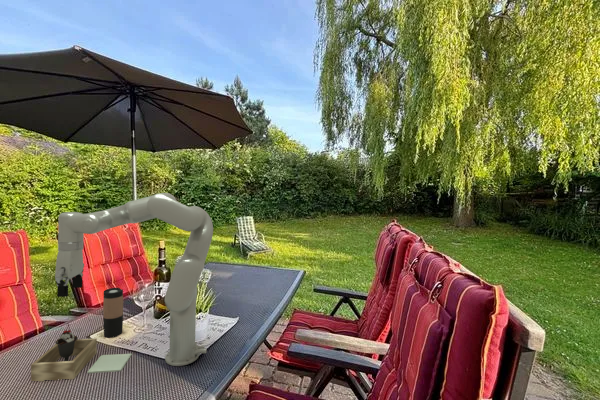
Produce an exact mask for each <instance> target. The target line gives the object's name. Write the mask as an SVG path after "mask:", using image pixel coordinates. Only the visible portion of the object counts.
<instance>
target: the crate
mask: <svg viewBox="0 0 600 400" xmlns="http://www.w3.org/2000/svg"><path fill="white" fill-rule="evenodd" d="M97 345H98V344H97V338H96V337H95V338H80V339H79V338H77V340H76V341H75V344H74V350H73V353H72V355H71V356H75V357H74V358H73V359H72V360H69V361H65V360H62V361H59V359H60V358H62V357H61V356H60V354H59V349H58V344H56V343H55V344H54V345H53V346H52V347H50V348H49V349H48V350H47V351H45V352H44V353H43V354H42V355H41V356H40V357H39V358H37V359H36V360H35V361H34V362H32V363H31V364H30V376H31V377H30V382H31V381H39V382H45V381H44V380H54V381H62V380H61V379H69V380H75V379H76V377H77V376H78V375H79V374H80V373H81V371H82V370H83V369H84V368H85V367H86V366H87V365H88V363H89V362H91V360H92V359H93V358H94V357H95V356H96V355H97V354H98V353H97V350H98V349H97ZM71 356H70V357H71ZM58 379H59V380H58Z"/></svg>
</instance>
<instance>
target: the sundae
mask: <svg viewBox="0 0 600 400" xmlns="http://www.w3.org/2000/svg"><path fill="white" fill-rule="evenodd" d="M67 327H70V324H69V323H68V324H67ZM77 339H79V337H78V335H75V334H74V333H72V331H71V330H70V328H66V329H64V331H63V332H62V333H61V334H60V336H59V338H57V340H55V342H54V343H55V344H58V349H59V354H60V356H61V357H60V358H63V359H64V361H70V360H69V359H70V357H71V355H72V353H73V350H74V344H75V341H76V340H77Z"/></svg>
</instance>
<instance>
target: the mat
mask: <svg viewBox="0 0 600 400" xmlns="http://www.w3.org/2000/svg"><path fill="white" fill-rule="evenodd" d="M132 355H133V354H132V353H120V354H119V353H118V354H116V353H115V354H101V355H100V356H99V358H97V360H95V362H94V363H93V364H92V366H90V368H89V369H88V371H87V374H98V373H99V374H100V373H103V374H104V373H114V372H115V373H116V372H122V371H123V369H124V367H125V366H126V364H127V363H128V361H129V360H130V358H131V357H132Z"/></svg>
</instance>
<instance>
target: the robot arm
mask: <svg viewBox="0 0 600 400" xmlns="http://www.w3.org/2000/svg"><path fill="white" fill-rule="evenodd" d="M153 219H158V220H160V221H162V222H165V223H167V224H169V225H171V226H173V227H176V228H177V229H180V230H183V231H186V232H190V234H189V237H188V240H187V242H186V246H185V249H184V251H183V254H182V256H181V258H180V259H179V260H178V261H177V263H176V264H175V266H174V269H173V271H172V273H171V276H170V280H169V282H168V286H167V288H166V291H165V295H164V304H165V306H166V308H167V309H168V310H169V351H168V352H167V353H166V354H165V357H164V361H165V363H166V364H167V365H170V366H173V367H174V366H175V367H181V366H186V365H189V364H192V363H194V362H195V361H196V360H198V359H199V356H200V354H207V351H208V349H207V347H205V345H197V344H198V342H197V341H196V328H197V327H196V322H197V321H196V319H197V298H198V283H199V280H200V278H201V275H202V273H203V271H204V268H205V262H206V259H207V257H208V254H209V250H210V246H211V243H212V239H213V236H214V235H213V234H214V225H213V220H212V218H211V216H210V215H209V213H208V212H207V211H206V210H204V209H203V208H202V207H200V206H196V205H192V206H187V205H186V204H184V203H181V202H179V201H178V200H177V199H176V197H175V196H174V195H173V194H171V193H169V192H161V193H155V194H153V195H149V196H147V197H143V198H138V199H135V200H130V201H128V202H126V203H125V204H123V205H120V206H115V207H112V208H108V209H104V210H99V211H95V212H93V211H92V212H89V213H82V212H78V211H67V212H62V213H60V214H59V215H58V232H57V233H58V235H57V236H58V237H57V239H58V241H57V248H58V249H57V251H58V252H57V256H56V263H55V276H54V278H55V279H54V280H55V284H56V286H57V293H56V295H57V297H58V298H67V297H69V285H68V283H69V281H70V280H72V283H71V285H72V289H75V288H77V289H80V288H82V287H83V276H84V274H83V273H84V267H85V263H84V256H83V255H84V253H83V251H84V242H85V241H84V239H85V238H84V237H85V236H84V234H87V235H93V234H97V233H100V232H103V231H106V230H110V229H113V228H116V227H120V226H124V225H128V224H138V223H142V222H145V221H149V220H153Z"/></svg>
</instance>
